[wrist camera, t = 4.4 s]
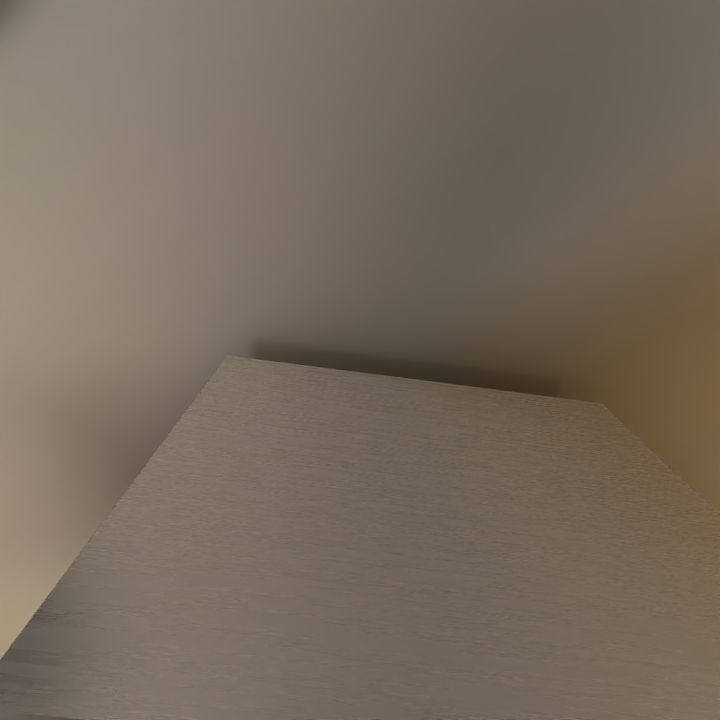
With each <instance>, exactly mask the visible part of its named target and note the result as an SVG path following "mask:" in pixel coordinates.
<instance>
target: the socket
mask: <svg viewBox="0 0 720 720" xmlns="http://www.w3.org/2000/svg"><path fill="white" fill-rule="evenodd" d="M0 720H720V515H719V514H718V513H717V512H716V511H715V510H714V509H713V508H712V507H711V506H710V505H709V504H707V503H706V502H705V501H704V500H703V499H702V498H701V497H700V496H699V495H698V494H697V493H696V492H695V491H694V490H693V489H692V488H691V487H689V486H688V485H687V484H686V483H685V482H684V481H683V480H682V479H681V478H680V477H679V476H678V475H677V474H676V473H675V472H674V471H673V470H671V469H670V468H669V467H668V466H667V465H666V464H665V463H664V462H663V461H662V460H661V459H660V458H659V457H658V456H657V455H656V454H655V453H653V452H652V451H651V450H650V449H649V448H648V447H647V446H646V445H645V444H644V443H643V442H642V441H641V440H640V439H639V438H638V437H637V436H635V435H634V434H633V433H632V432H631V431H630V430H629V429H628V428H627V427H626V426H625V425H624V424H623V423H622V422H621V421H620V420H618V419H617V418H616V417H615V416H614V415H613V414H612V413H611V412H610V411H609V410H608V409H607V408H606V407H605V406H604V405H603V404H602V403H597V402H589V401H582V400H574V399H566V398H558V397H550V396H542V395H535V394H527V393H519V392H511V391H503V390H495V389H487V388H480V387H472V386H464V385H456V384H448V383H440V382H432V381H425V380H417V379H409V378H401V377H393V376H385V375H378V374H370V373H362V372H354V371H346V370H338V369H330V368H323V367H315V366H307V365H299V364H291V363H283V362H275V361H268V360H260V359H252V358H244V357H236V356H228V355H227V357H226V358H225V359H224V361H223V362H222V363H221V365H220V366H219V367H218V369H217V370H216V371H215V373H214V374H213V375H212V377H211V378H210V379H209V381H208V382H207V383H206V385H205V386H204V388H203V389H202V390H201V392H200V393H199V394H198V396H197V397H196V398H195V400H194V401H193V402H192V404H191V405H190V406H189V408H188V409H187V410H186V412H185V413H184V414H183V416H182V417H181V418H180V420H179V421H178V422H177V424H176V425H175V426H174V428H173V429H172V430H171V432H170V433H169V434H168V436H167V437H166V438H165V440H164V441H163V442H162V444H161V445H160V446H159V448H158V449H157V451H156V452H155V453H154V455H153V456H152V457H151V459H150V460H149V461H148V463H147V464H146V465H145V467H144V468H143V469H142V471H141V472H140V473H139V475H138V476H137V477H136V479H135V480H134V481H133V483H132V484H131V485H130V487H129V488H128V489H127V491H126V492H125V493H124V495H123V496H122V497H121V499H120V500H119V501H118V503H117V504H116V505H115V507H114V508H113V510H112V511H111V512H110V514H109V515H108V516H107V518H106V519H105V520H104V522H103V523H102V524H101V526H100V527H99V528H98V530H97V531H96V532H95V534H94V535H93V536H92V538H91V539H90V540H89V542H88V543H87V544H86V546H85V547H84V548H83V550H82V551H81V552H80V554H79V555H78V556H77V558H76V559H75V560H74V562H73V563H72V564H71V566H70V567H69V568H68V570H67V571H66V573H65V574H64V575H63V577H62V578H61V579H60V581H59V582H58V583H57V585H56V586H55V587H54V589H53V590H52V591H51V593H50V594H49V595H48V597H47V598H46V599H45V601H44V602H43V603H42V605H41V606H40V607H39V609H38V610H37V611H36V613H35V614H34V615H33V617H32V618H31V619H30V621H29V622H28V623H27V625H26V626H25V627H24V629H23V630H22V631H21V633H20V634H19V636H18V637H17V638H16V640H15V641H14V642H13V644H12V645H11V646H10V648H9V649H8V650H7V652H6V653H5V654H4V656H3V657H2V658H1V660H0Z"/></svg>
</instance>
